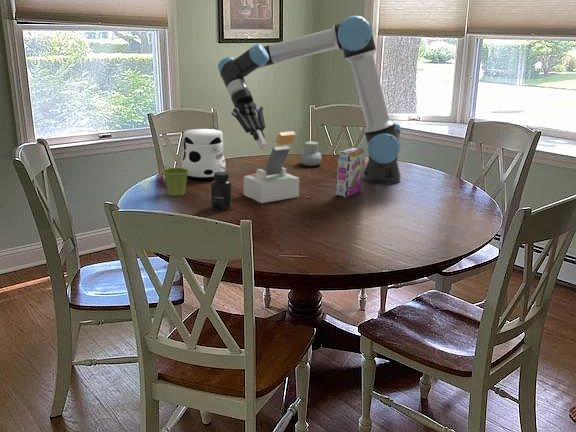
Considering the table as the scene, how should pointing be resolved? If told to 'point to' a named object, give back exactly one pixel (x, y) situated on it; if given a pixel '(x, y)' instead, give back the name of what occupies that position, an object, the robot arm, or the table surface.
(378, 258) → the table surface
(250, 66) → the robot arm
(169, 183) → the plant pot
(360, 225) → the table surface
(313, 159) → the air freshener
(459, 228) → the table surface
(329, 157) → the table surface
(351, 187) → the candy bar box
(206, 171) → the white black spotted container
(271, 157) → the switch lever
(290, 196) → the switch box
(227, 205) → the supplement bottle
